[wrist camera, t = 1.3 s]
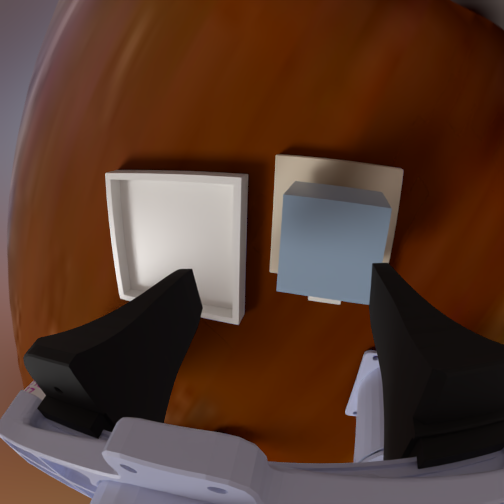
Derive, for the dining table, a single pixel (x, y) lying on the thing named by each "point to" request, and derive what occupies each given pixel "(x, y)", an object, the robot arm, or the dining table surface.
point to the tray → (181, 234)
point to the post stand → (337, 175)
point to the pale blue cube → (331, 241)
